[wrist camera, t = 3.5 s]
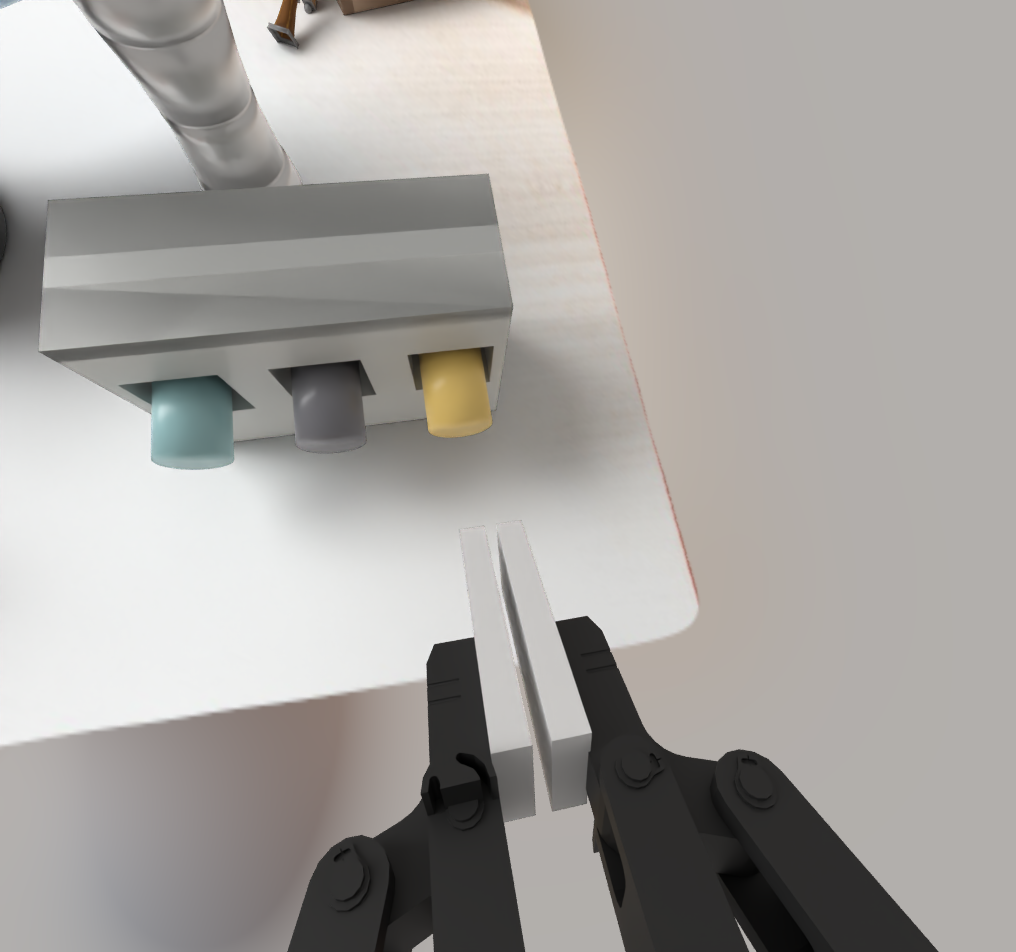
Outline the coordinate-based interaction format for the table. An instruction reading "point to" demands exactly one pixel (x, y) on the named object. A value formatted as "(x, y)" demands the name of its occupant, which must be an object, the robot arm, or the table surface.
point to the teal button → (192, 423)
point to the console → (277, 290)
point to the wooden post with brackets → (288, 20)
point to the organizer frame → (364, 5)
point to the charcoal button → (328, 407)
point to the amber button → (455, 392)
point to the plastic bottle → (196, 87)
